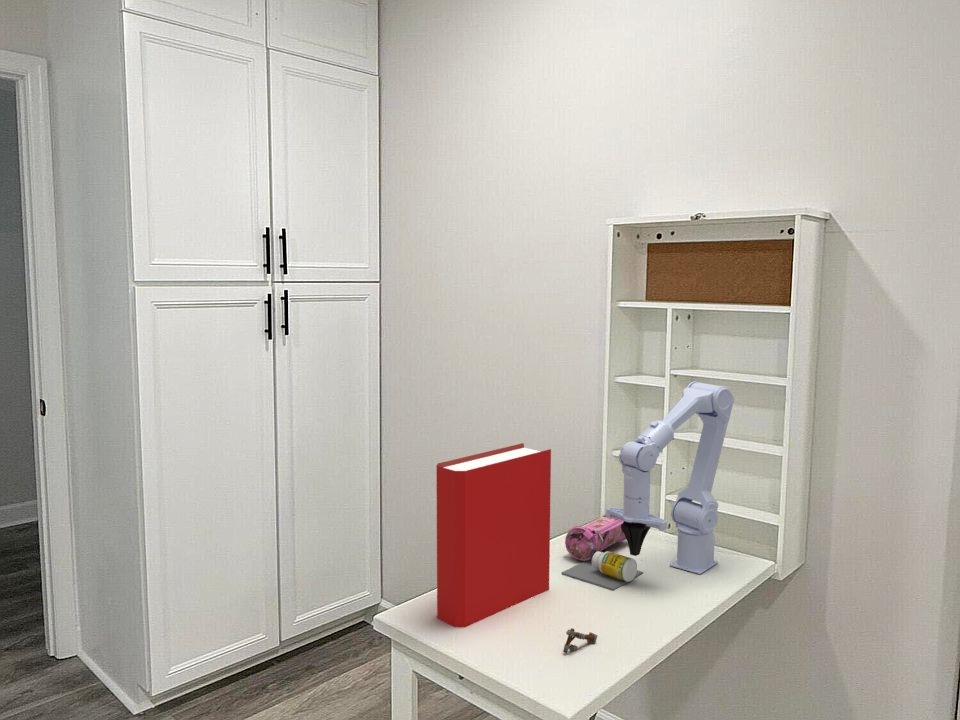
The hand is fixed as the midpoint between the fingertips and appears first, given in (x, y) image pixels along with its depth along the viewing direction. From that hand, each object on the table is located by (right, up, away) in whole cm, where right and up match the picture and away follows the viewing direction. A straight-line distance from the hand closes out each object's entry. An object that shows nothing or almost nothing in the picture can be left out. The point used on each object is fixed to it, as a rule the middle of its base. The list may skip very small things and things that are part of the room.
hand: (635, 554), depth 179 cm
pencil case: (-5, -4, +21) cm, 22 cm away
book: (-32, -8, -9) cm, 34 cm away
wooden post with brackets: (-16, -11, -29) cm, 35 cm away
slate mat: (-6, -6, +6) cm, 11 cm away
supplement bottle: (-1, -4, 0) cm, 4 cm away
